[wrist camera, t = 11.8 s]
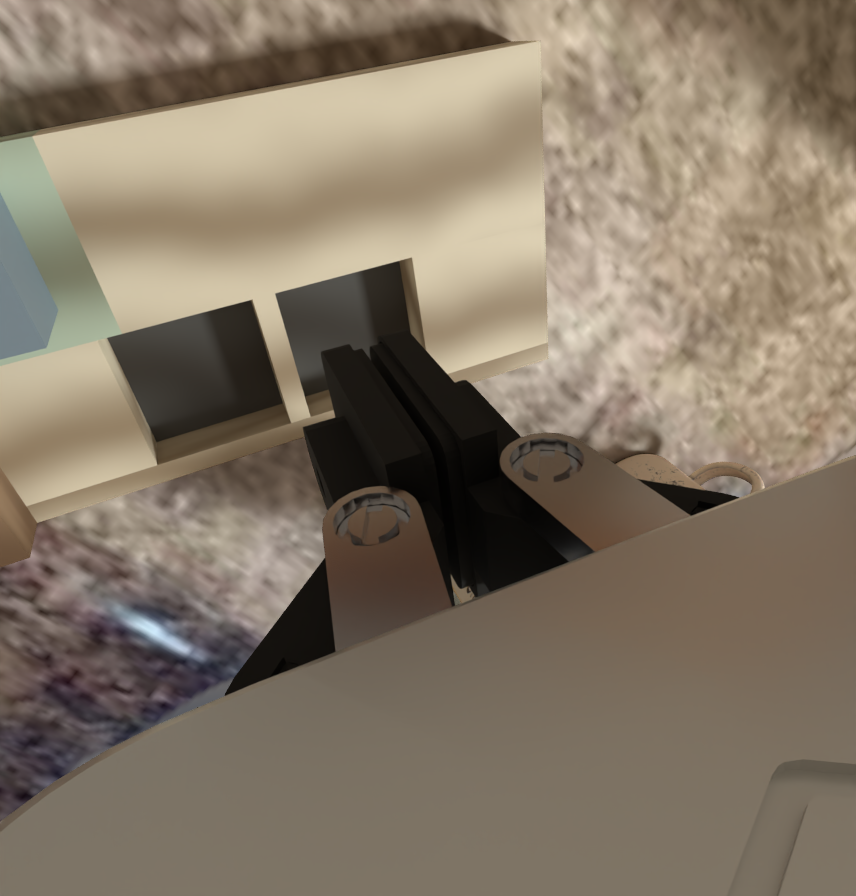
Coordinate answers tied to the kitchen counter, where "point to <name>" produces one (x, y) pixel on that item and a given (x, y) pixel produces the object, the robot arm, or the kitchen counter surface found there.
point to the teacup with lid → (667, 473)
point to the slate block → (21, 294)
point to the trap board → (263, 265)
